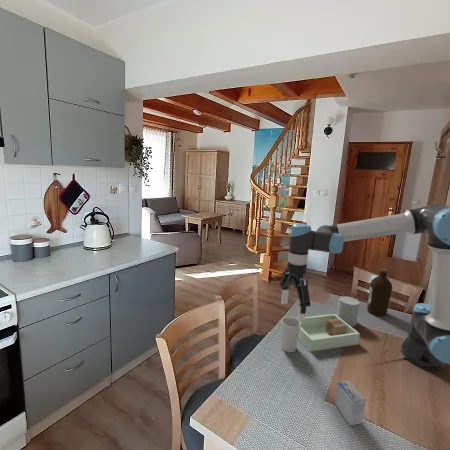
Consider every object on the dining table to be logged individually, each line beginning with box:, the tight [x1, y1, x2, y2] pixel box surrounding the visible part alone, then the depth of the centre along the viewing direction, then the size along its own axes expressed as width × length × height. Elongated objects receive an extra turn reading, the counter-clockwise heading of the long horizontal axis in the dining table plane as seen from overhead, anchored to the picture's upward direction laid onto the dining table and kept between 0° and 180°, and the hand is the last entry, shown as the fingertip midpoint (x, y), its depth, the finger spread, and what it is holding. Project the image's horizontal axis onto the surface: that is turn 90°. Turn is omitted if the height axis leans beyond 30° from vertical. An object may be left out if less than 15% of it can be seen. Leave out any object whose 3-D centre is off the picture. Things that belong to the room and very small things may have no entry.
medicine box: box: [333, 380, 367, 426], centre depth 85 cm, size 8×4×9 cm, turn 12°
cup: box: [280, 316, 301, 353], centre depth 116 cm, size 8×8×12 cm
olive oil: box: [366, 268, 393, 317], centre depth 149 cm, size 11×11×25 cm
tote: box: [295, 313, 361, 353], centre depth 125 cm, size 17×24×6 cm
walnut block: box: [325, 319, 347, 336], centre depth 126 cm, size 6×6×6 cm
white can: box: [336, 295, 361, 328], centre depth 138 cm, size 10×10×12 cm
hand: (291, 311), depth 114 cm, fingers open, 13 cm apart
